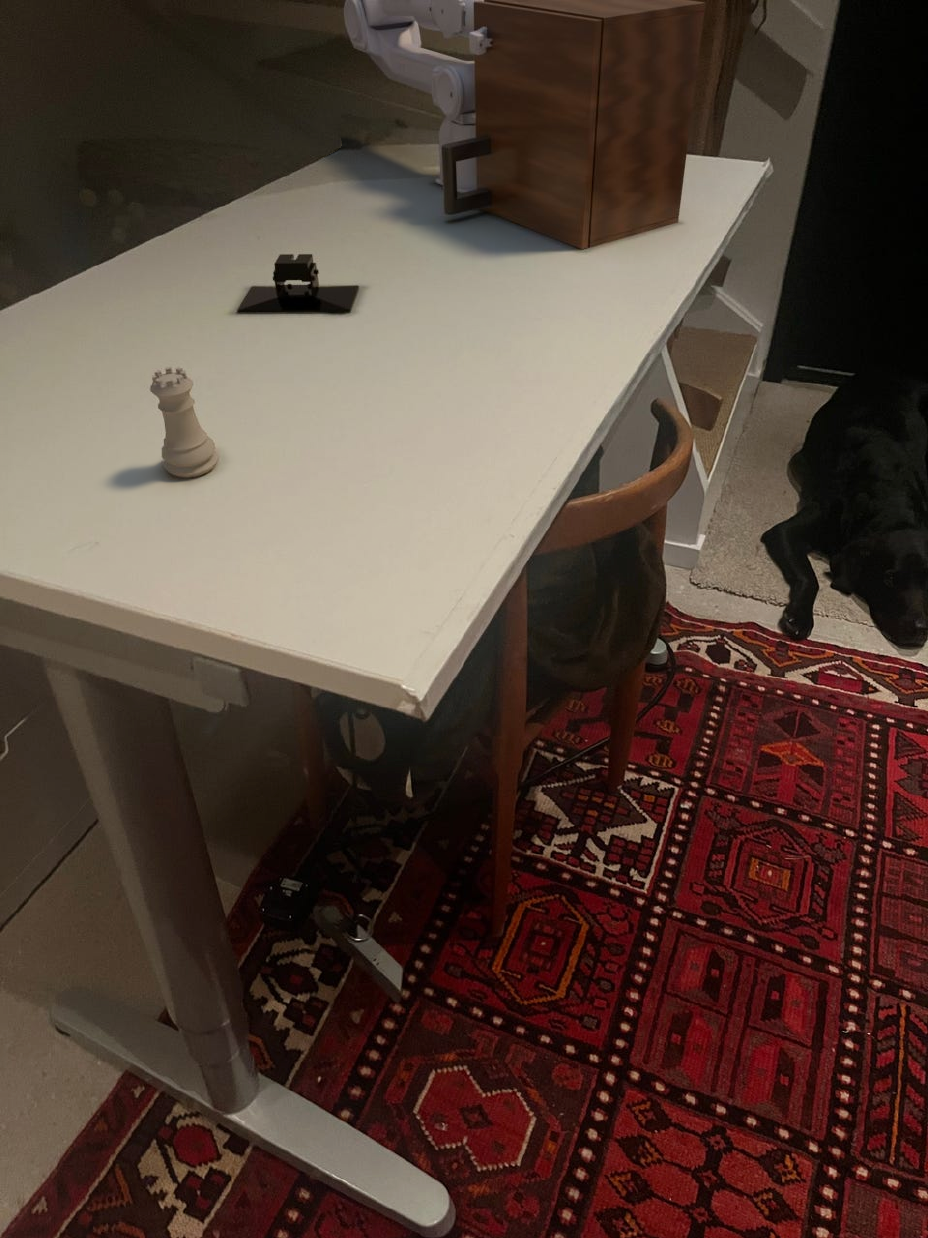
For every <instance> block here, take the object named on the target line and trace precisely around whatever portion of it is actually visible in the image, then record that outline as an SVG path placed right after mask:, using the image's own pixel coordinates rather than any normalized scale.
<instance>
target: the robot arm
mask: <svg viewBox="0 0 928 1238" xmlns="http://www.w3.org/2000/svg"><path fill="white" fill-rule="evenodd" d="M476 1H483V2H484V0H345V2H344V6H343V19H344V25H345V28H346V32H347V34H348V36H349V37H348V38H349V40H350V42H351V45H352V47H353V49H356V50H358V51H359V52H363V53H365V54H367V55H368V56H369V57H370V59H371V60H372V61H373V62H374V63H375V65H376V66H377V67H378V68H379V70H381V72H382V73H383V74H384V76H385V77H387V78H388V79H389V80H391V81H393V82H397V83H399V84H402V85H405V86H408V87H410V88H413V89H416V90H417V91H421V92H423V93H426V94H429V95H431V96H432V103H433V106H435V107H438V108H439V109H440V110H441V112H442V113H443V115H444V116H445V118H444V120H443V121H442V123H441V124H440V127H439V131H438V154H439V155H438V157H439V178H435V180H434V181H435V183H436V184H437V185H439V186H442V187H443V174H442V149H441V146H442V145H444V144H448V143H453V142H457V141H462V140H467V139H472V138H476V120H475V62H474V60H463V59H460V58H456V57H453V56H450V55H446V54H443V53H441V52H440V53H439V52H436V51H434V50H430V49H427V48H424V47H422V39H421V33H420V27H421V28H423V29H426V30H430V31H437V32H441V33H442V36H443V38H444V39H452V38H453V37H458V36H463V37H465V38H467V39H468V40H469V42H468V43H469V52H470V53H472V54H473V55H474V54H476V55H482V54H484V53H486V51H487V47H490V46H492V44H491V43H490V42H491V41H492V39H488V38H487V27H484V26H483V27H482V28H480V29H479V30H477V31H474V4H473V3H474V2H476ZM419 26H420V27H419ZM456 171H457V193H459V194H460V193H464V192H468V191H472V190H476V189H477V178H476V157H475V158H471V159H466V160H462V161H457V162H456Z"/></svg>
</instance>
